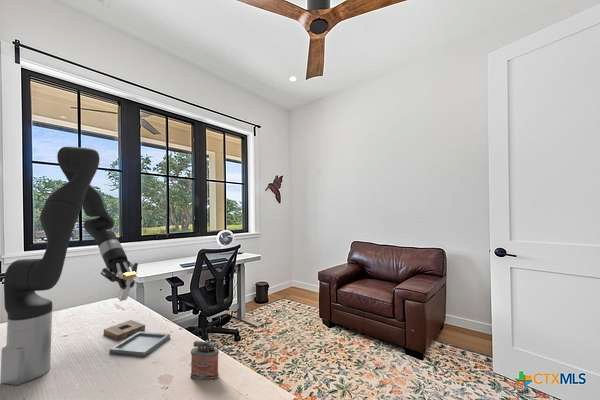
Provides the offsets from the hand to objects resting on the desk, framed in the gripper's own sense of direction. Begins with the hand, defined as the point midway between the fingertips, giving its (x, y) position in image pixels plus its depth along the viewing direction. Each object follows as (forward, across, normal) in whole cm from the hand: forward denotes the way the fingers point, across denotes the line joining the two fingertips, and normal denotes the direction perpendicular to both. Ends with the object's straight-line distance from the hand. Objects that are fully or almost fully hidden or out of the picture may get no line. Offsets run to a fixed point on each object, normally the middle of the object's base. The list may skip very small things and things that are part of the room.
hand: (128, 287), depth 103 cm
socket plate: (+11, 0, +14) cm, 18 cm away
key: (0, 0, +7) cm, 7 cm away
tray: (+22, -3, +3) cm, 23 cm away
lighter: (+46, -4, -21) cm, 51 cm away
